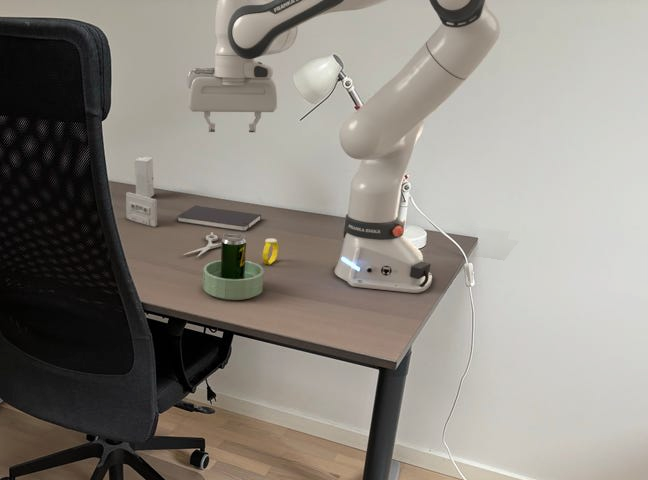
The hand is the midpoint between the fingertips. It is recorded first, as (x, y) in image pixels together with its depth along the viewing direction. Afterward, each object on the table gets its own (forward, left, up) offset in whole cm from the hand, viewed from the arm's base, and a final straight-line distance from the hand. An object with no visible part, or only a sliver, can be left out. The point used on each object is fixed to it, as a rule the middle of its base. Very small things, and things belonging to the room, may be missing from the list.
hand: (231, 131), depth 173 cm
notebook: (+15, -28, -31) cm, 45 cm away
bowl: (-10, +20, -31) cm, 38 cm away
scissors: (+7, -4, -31) cm, 32 cm away
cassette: (+34, -16, -31) cm, 49 cm away
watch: (-11, -1, -31) cm, 33 cm away
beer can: (-10, +20, -30) cm, 38 cm away
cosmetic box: (+47, -41, -31) cm, 70 cm away
